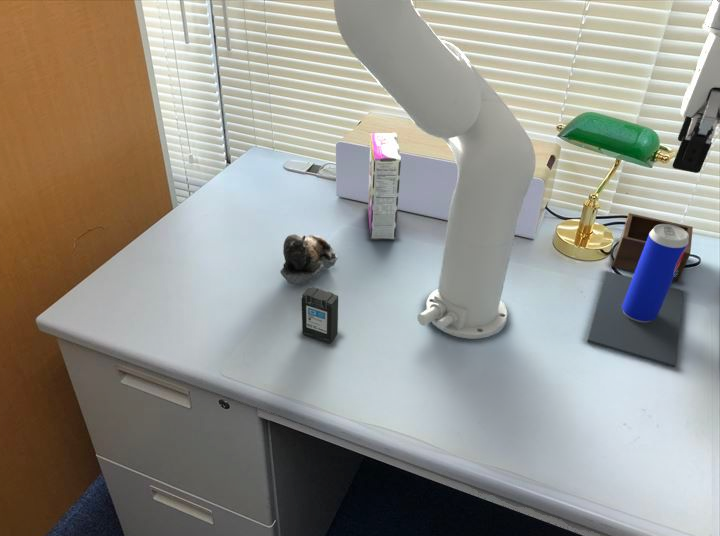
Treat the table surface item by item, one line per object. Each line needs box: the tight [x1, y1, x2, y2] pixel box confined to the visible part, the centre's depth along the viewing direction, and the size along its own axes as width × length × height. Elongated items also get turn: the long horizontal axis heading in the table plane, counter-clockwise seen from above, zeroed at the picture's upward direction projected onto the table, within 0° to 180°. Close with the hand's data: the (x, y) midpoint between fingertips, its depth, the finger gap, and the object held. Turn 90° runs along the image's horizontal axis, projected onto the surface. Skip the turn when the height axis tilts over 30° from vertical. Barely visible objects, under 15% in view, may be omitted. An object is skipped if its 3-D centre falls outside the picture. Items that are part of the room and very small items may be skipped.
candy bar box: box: [367, 132, 402, 241], centre depth 116 cm, size 11×5×16 cm, turn 179°
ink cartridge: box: [300, 286, 339, 345], centre depth 93 cm, size 5×2×8 cm, turn 63°
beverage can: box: [622, 224, 689, 323], centre depth 94 cm, size 5×5×15 cm
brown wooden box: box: [612, 212, 694, 284], centre depth 109 cm, size 9×10×6 cm
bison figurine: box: [279, 233, 339, 287], centre depth 105 cm, size 12×7×10 cm, turn 151°
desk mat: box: [586, 270, 684, 368], centre depth 99 cm, size 20×12×1 cm, turn 153°
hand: (687, 155), depth 83 cm, fingers open, 9 cm apart
